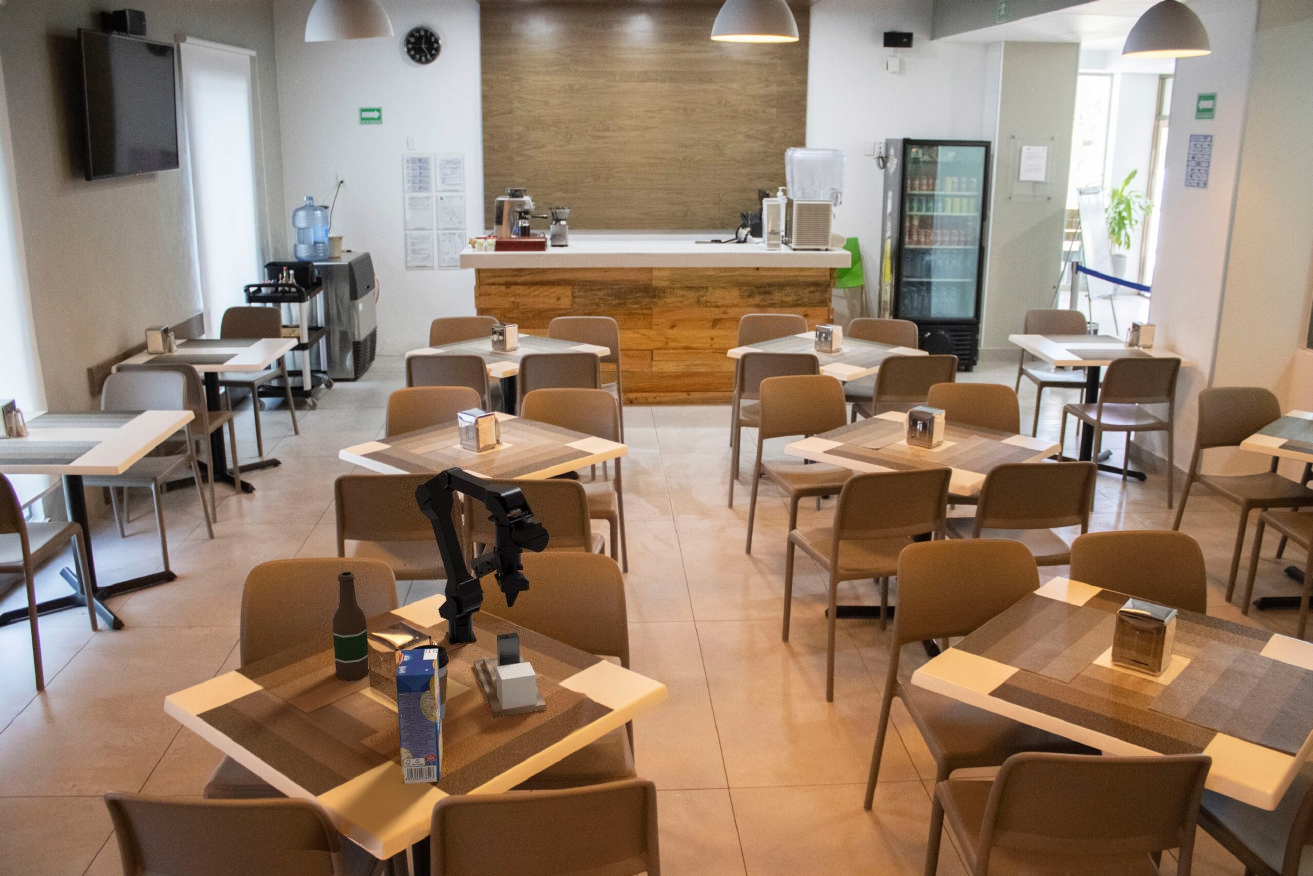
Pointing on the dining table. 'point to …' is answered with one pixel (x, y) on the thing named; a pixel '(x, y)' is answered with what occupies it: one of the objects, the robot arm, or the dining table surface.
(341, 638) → the beer bottle
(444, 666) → the coffee cup
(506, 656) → the dark grey rectangular block
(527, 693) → the socket
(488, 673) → the rail
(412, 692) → the beverage box
